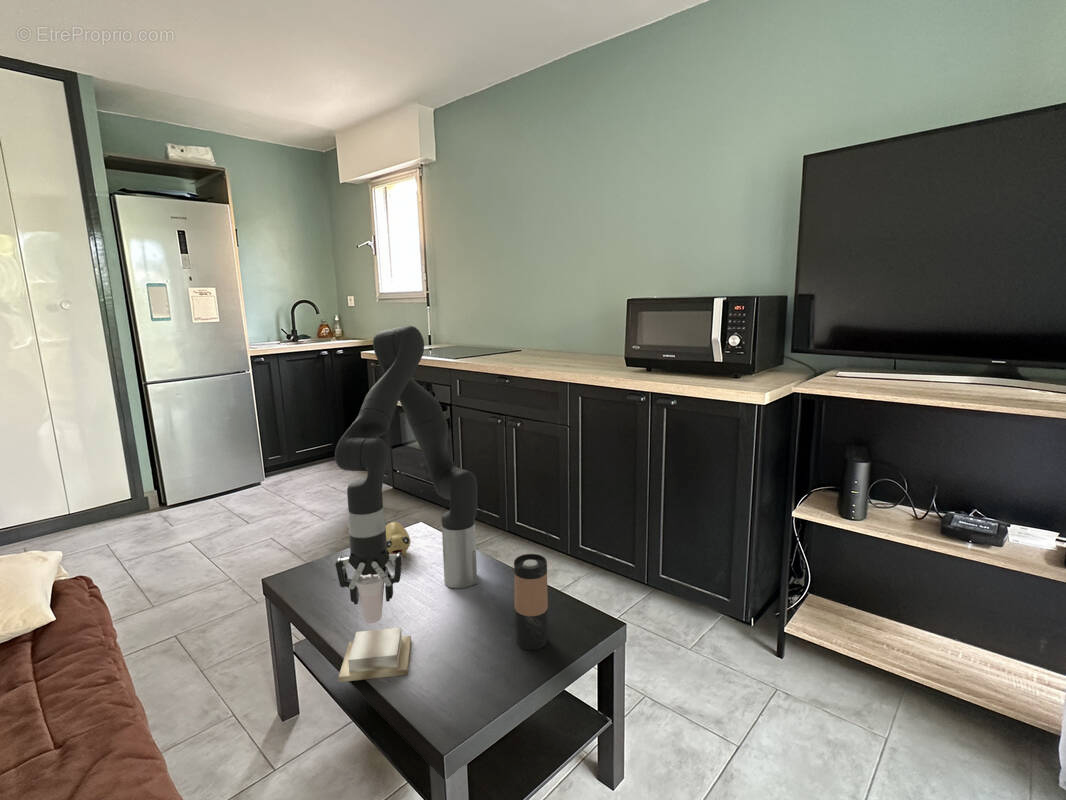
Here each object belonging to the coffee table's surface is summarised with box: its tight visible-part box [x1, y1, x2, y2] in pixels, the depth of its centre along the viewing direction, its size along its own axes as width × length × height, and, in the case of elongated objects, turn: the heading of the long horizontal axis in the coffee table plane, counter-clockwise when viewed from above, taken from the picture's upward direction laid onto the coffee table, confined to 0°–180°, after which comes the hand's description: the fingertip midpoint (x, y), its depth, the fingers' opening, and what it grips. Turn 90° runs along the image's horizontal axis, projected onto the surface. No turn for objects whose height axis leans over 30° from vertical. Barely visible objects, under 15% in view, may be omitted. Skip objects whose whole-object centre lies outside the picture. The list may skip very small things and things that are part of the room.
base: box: [338, 627, 412, 683], centre depth 119 cm, size 14×12×4 cm
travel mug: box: [513, 553, 549, 651], centre depth 123 cm, size 8×8×20 cm
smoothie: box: [356, 574, 385, 624], centre depth 116 cm, size 6×6×14 cm
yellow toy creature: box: [385, 521, 411, 557], centre depth 167 cm, size 10×12×11 cm
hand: (372, 600), depth 117 cm, fingers closed on smoothie, 6 cm apart
